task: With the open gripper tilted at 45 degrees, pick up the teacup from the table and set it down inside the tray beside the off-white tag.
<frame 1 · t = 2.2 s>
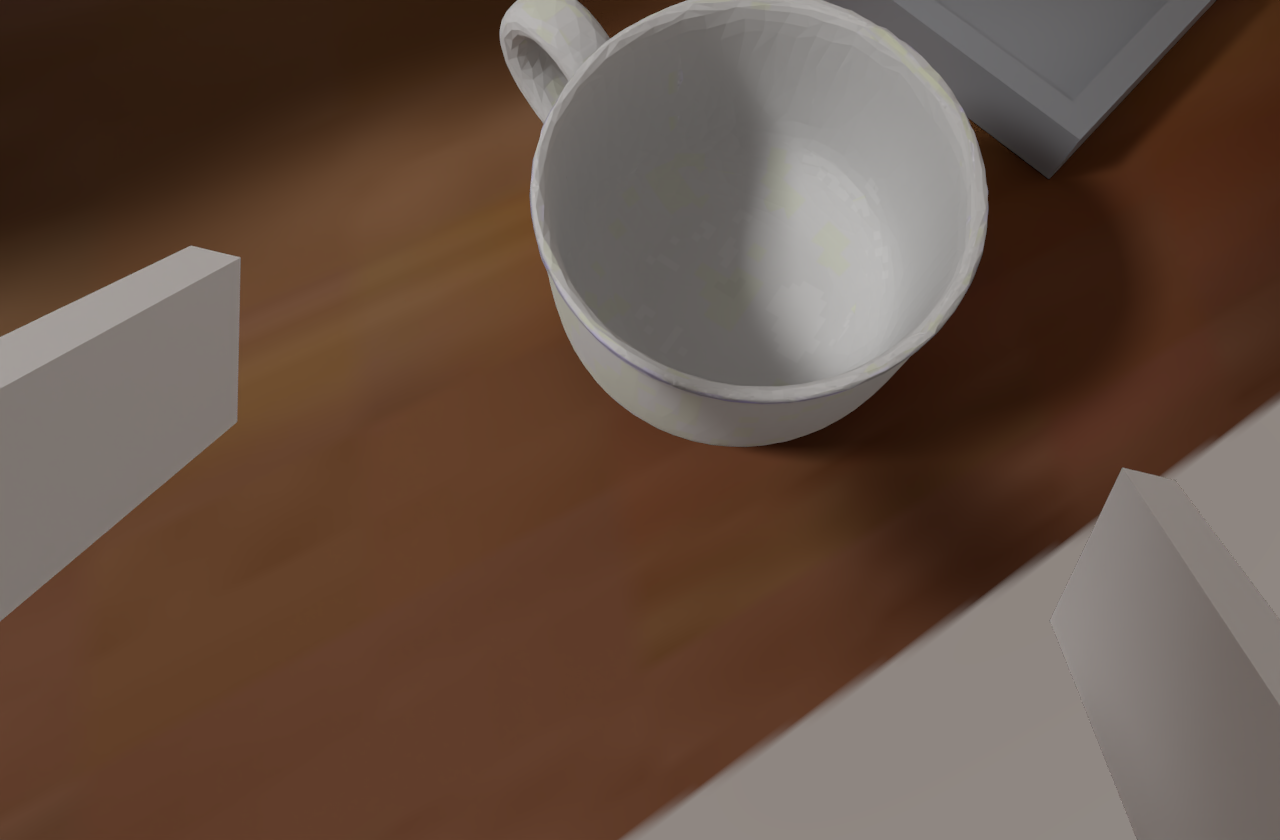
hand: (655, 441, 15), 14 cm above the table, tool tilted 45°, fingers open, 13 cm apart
teacup: (689, 282, 31), on the table
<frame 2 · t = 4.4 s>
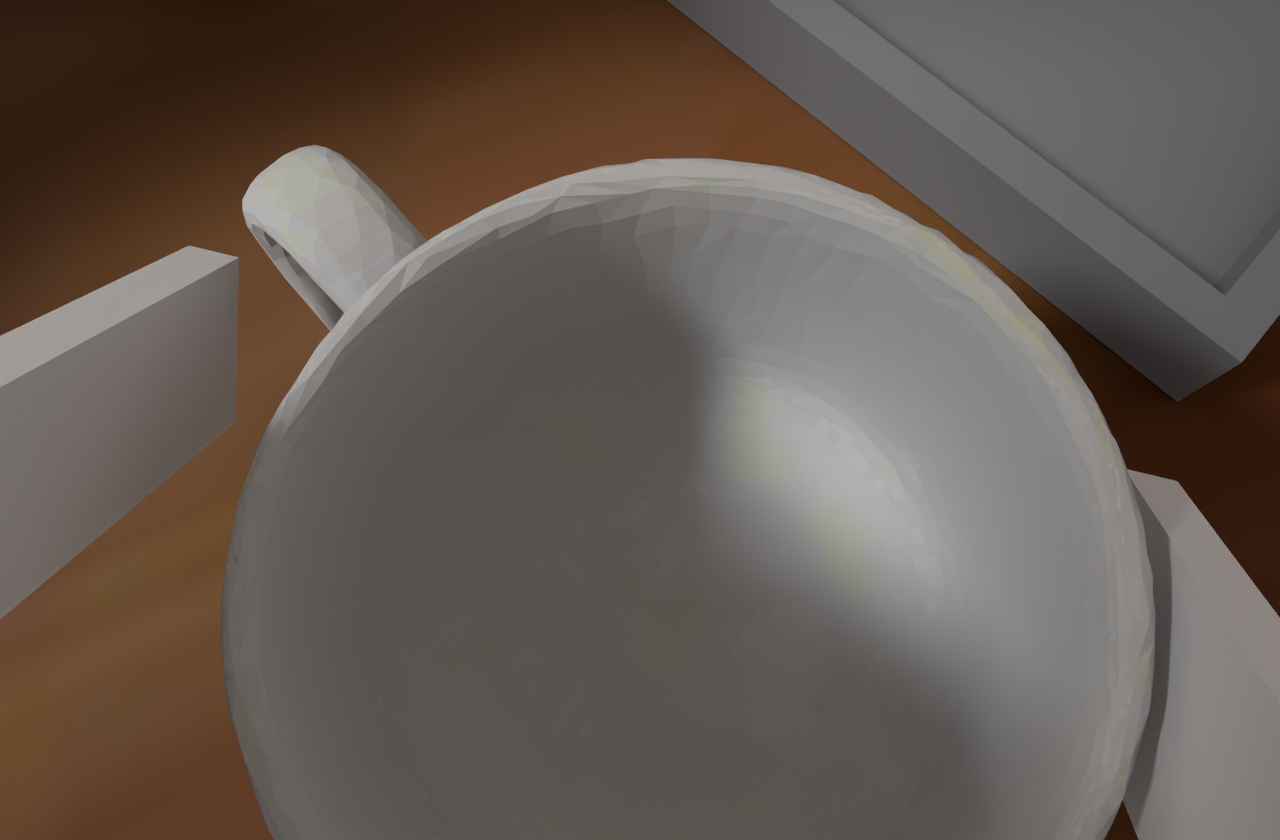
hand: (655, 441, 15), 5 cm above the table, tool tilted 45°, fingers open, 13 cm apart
teacup: (611, 584, 19), on the table, touching gripper
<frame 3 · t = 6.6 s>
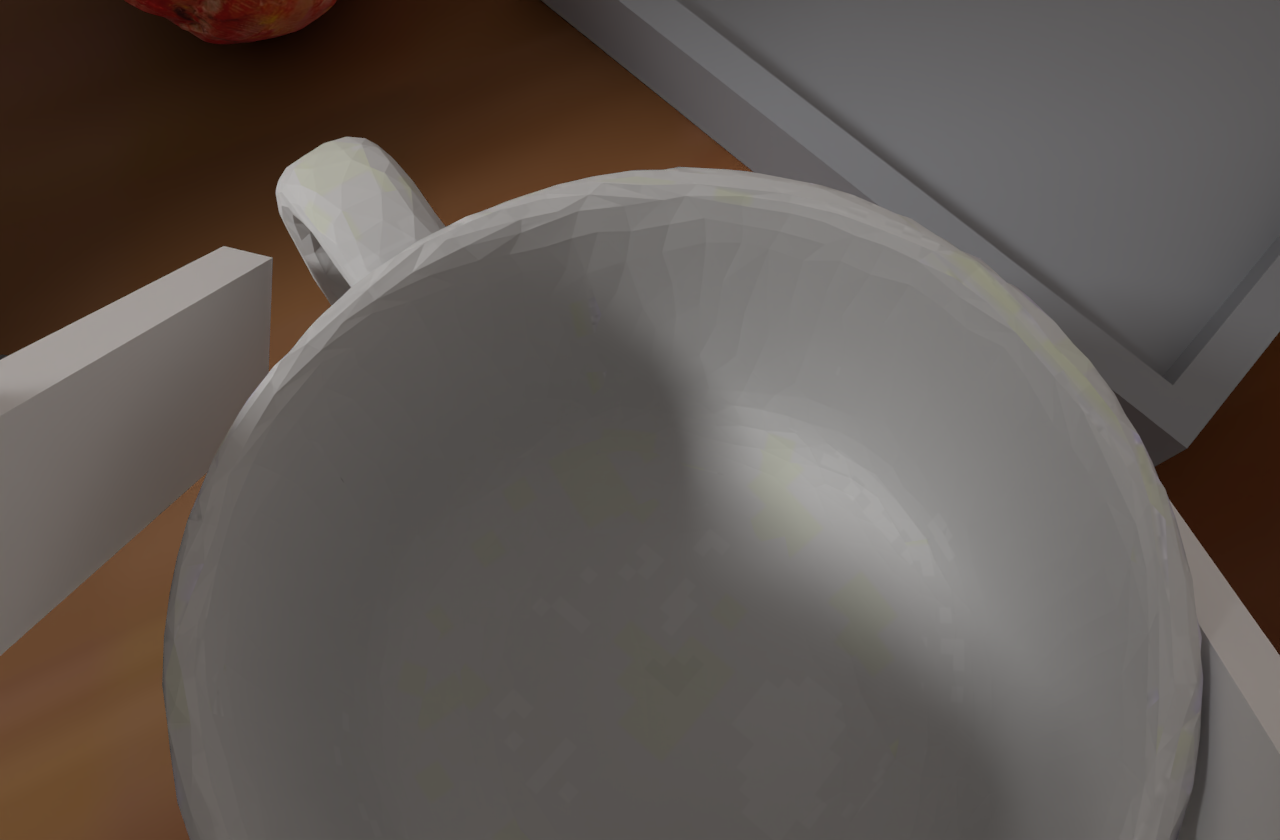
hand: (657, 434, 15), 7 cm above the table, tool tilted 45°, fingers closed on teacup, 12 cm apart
teacup: (615, 643, 18), point 3 cm above the table, touching gripper
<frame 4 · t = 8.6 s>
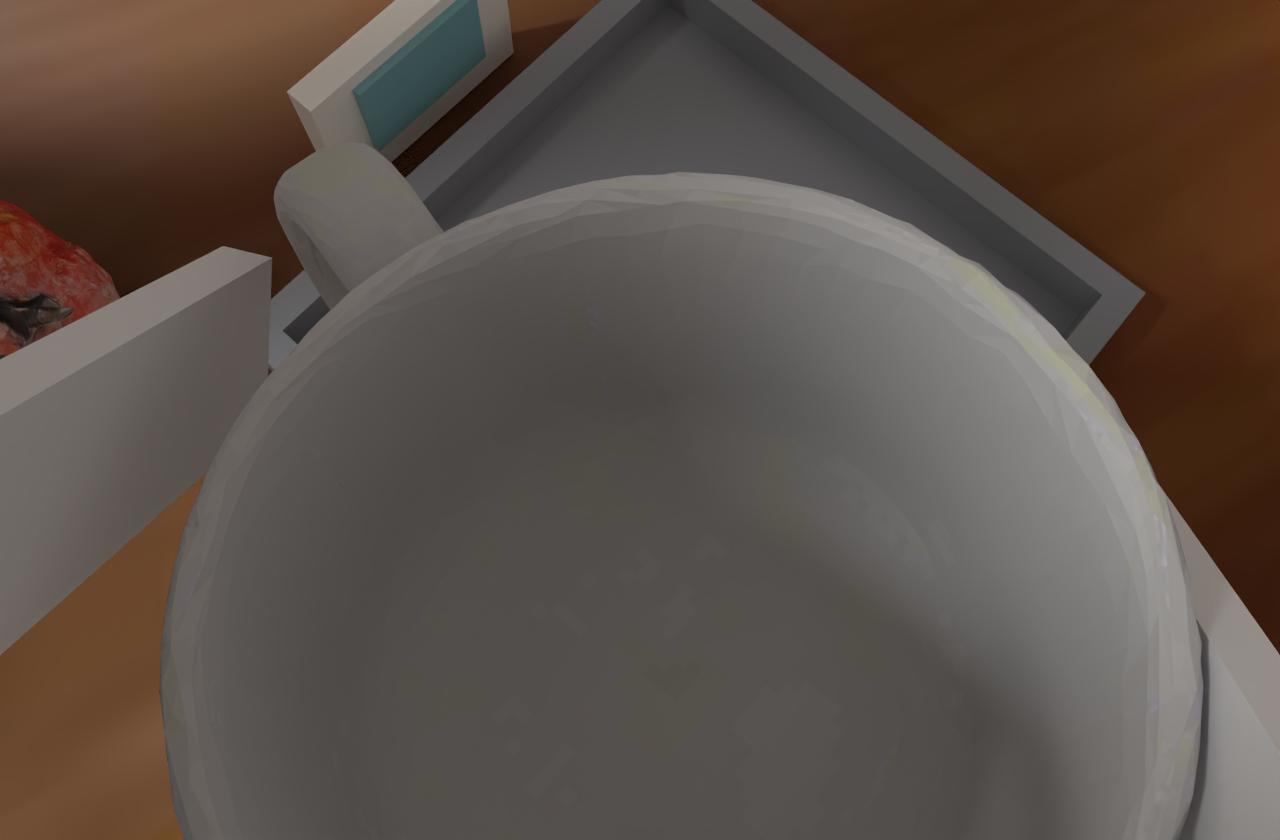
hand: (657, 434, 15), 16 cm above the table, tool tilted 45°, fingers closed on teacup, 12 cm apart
tag: (424, 115, 35), on the table
tray: (695, 338, 33), on the table
pomegranate: (35, 371, 32), on the table
teacup: (614, 647, 18), point 12 cm above the table, touching gripper
when the fingers open (6 cm above the table, at t = 11.9 s): teacup drops 2 cm, resting on tray.
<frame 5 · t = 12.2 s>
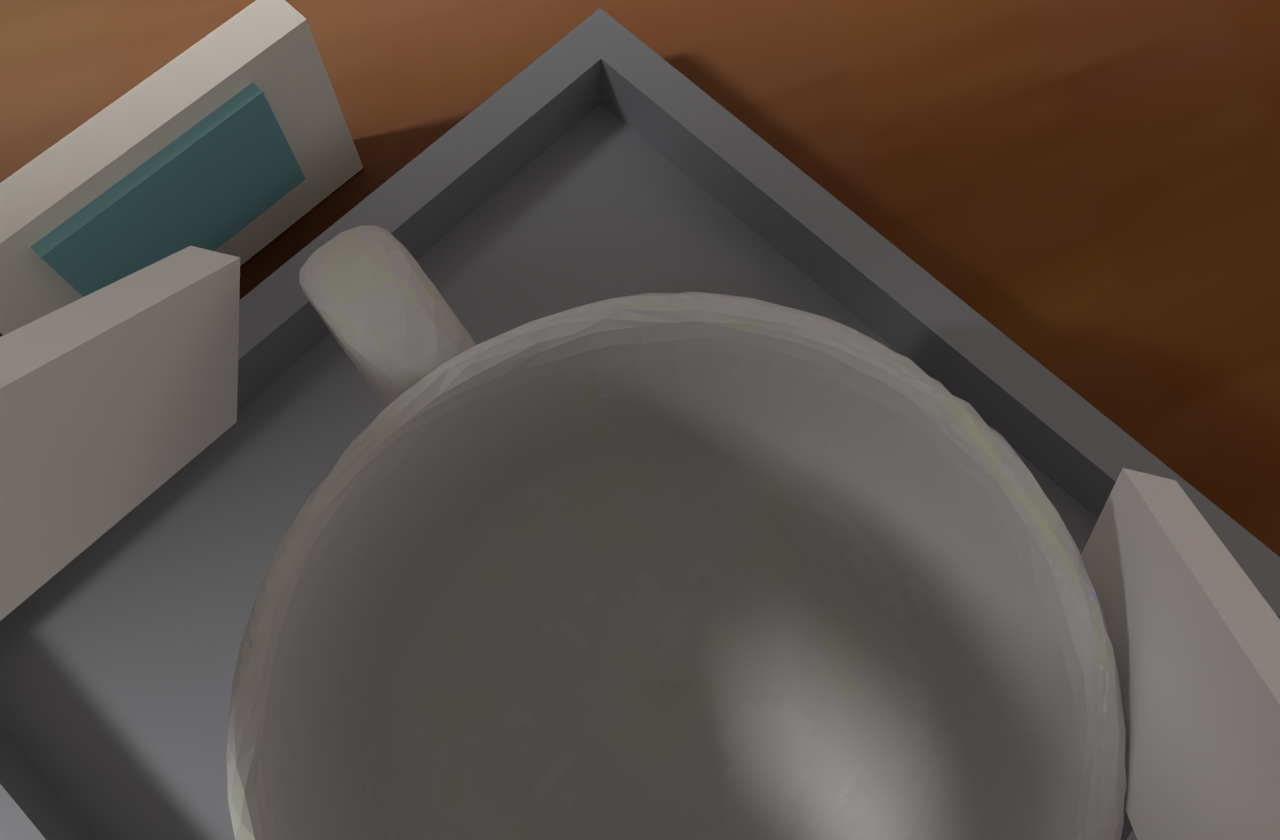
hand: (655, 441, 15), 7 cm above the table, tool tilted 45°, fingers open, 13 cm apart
tag: (215, 260, 23), on the table
tray: (609, 646, 20), on the table
teacup: (611, 650, 20), resting on tray, touching gripper
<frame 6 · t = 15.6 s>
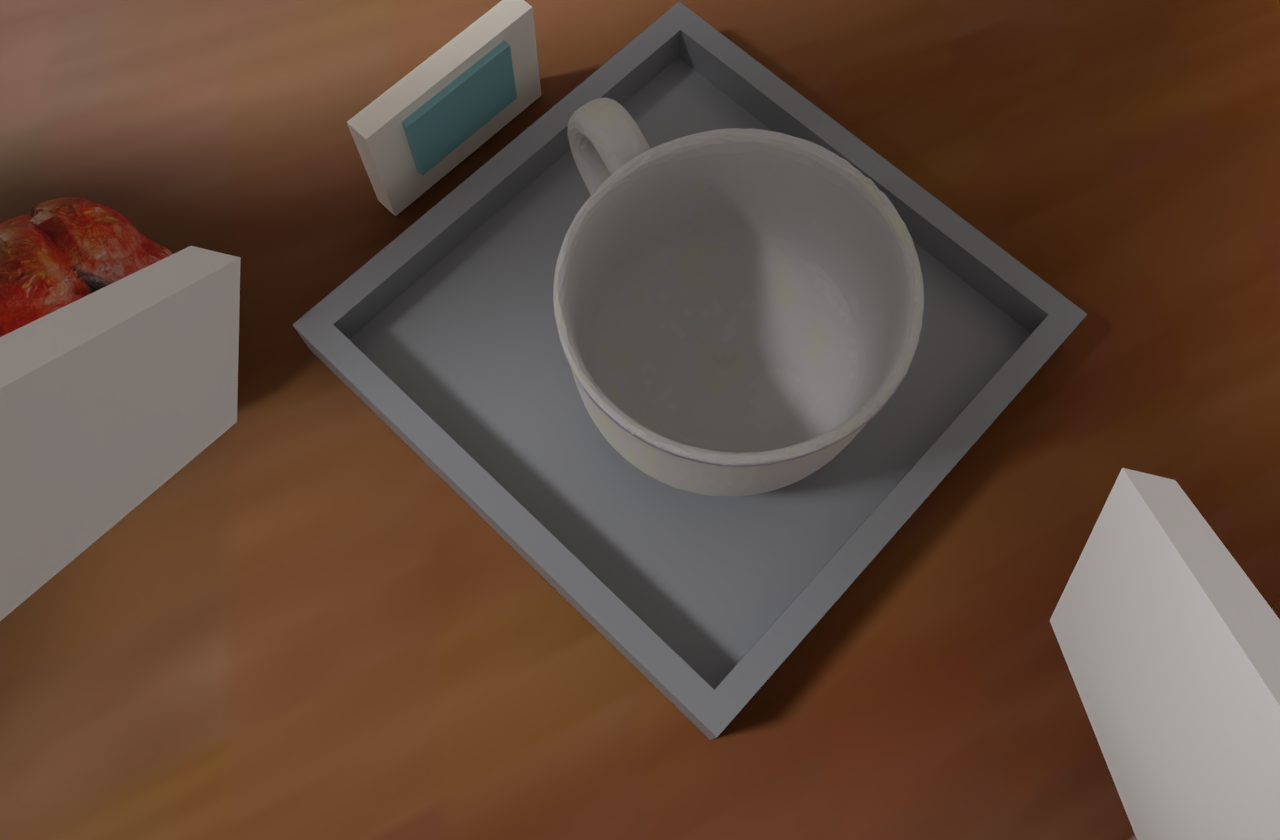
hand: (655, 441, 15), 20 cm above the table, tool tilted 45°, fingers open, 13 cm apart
tag: (461, 147, 40), on the table
tray: (690, 344, 37), on the table
pomegranate: (119, 356, 37), on the table
teacup: (694, 349, 37), resting on tray
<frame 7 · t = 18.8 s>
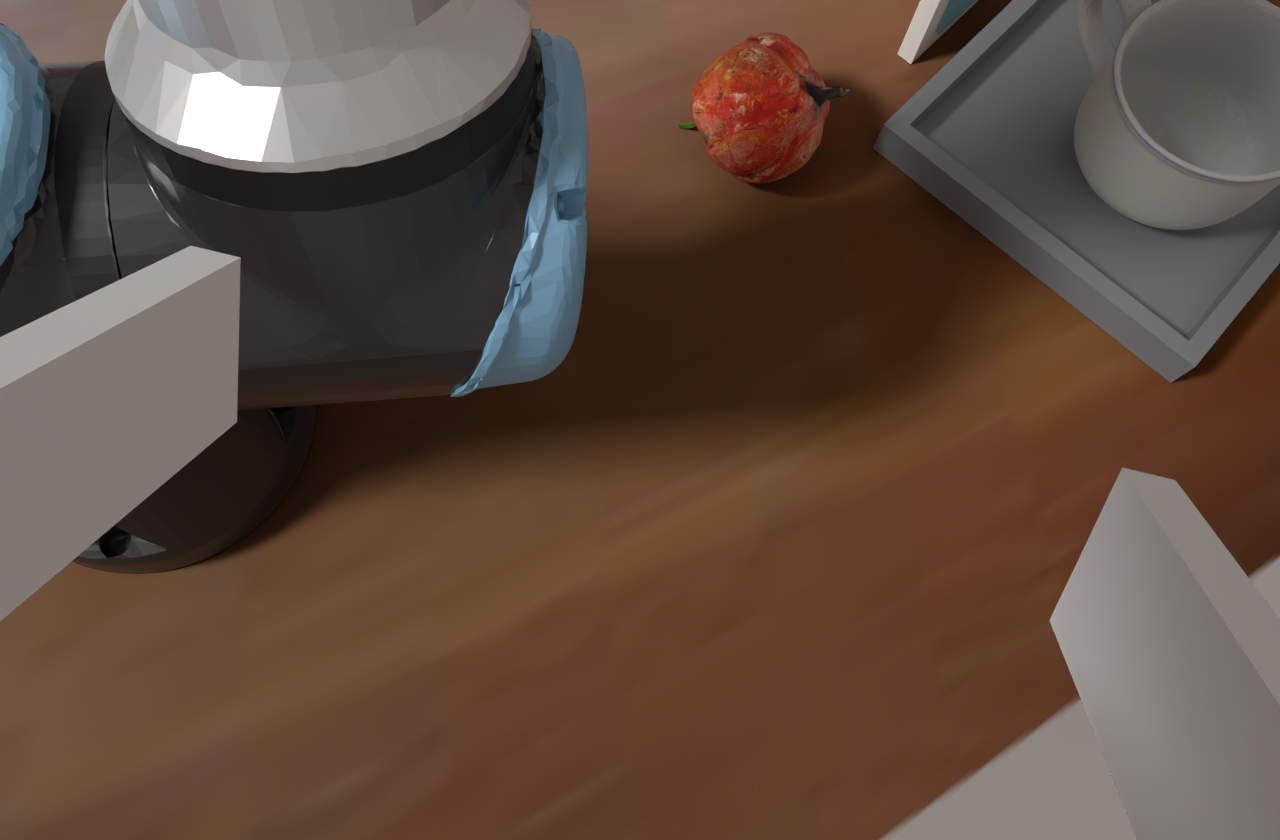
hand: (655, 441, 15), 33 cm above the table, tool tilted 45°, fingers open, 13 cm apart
tag: (946, 19, 58), on the table
tray: (1120, 149, 56), on the table
pomegranate: (745, 150, 55), on the table
teacup: (1126, 150, 56), resting on tray
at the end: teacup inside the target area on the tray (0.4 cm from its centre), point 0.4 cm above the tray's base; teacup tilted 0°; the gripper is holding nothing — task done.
